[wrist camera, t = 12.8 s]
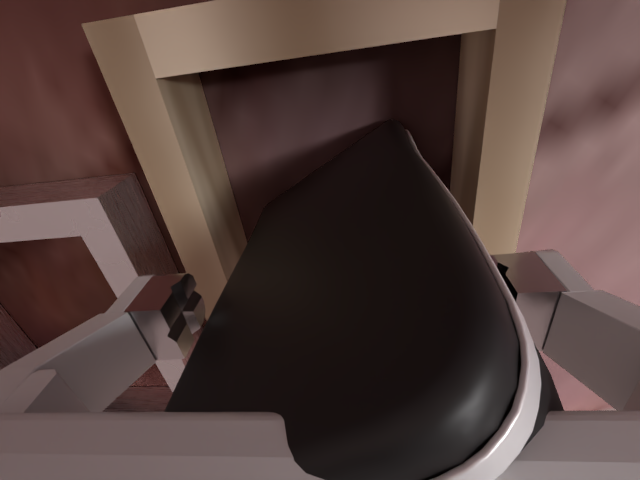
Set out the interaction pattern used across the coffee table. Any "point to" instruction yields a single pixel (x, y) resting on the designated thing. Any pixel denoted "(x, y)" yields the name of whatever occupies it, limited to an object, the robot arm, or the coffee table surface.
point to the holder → (105, 246)
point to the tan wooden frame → (313, 39)
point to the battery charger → (374, 328)
